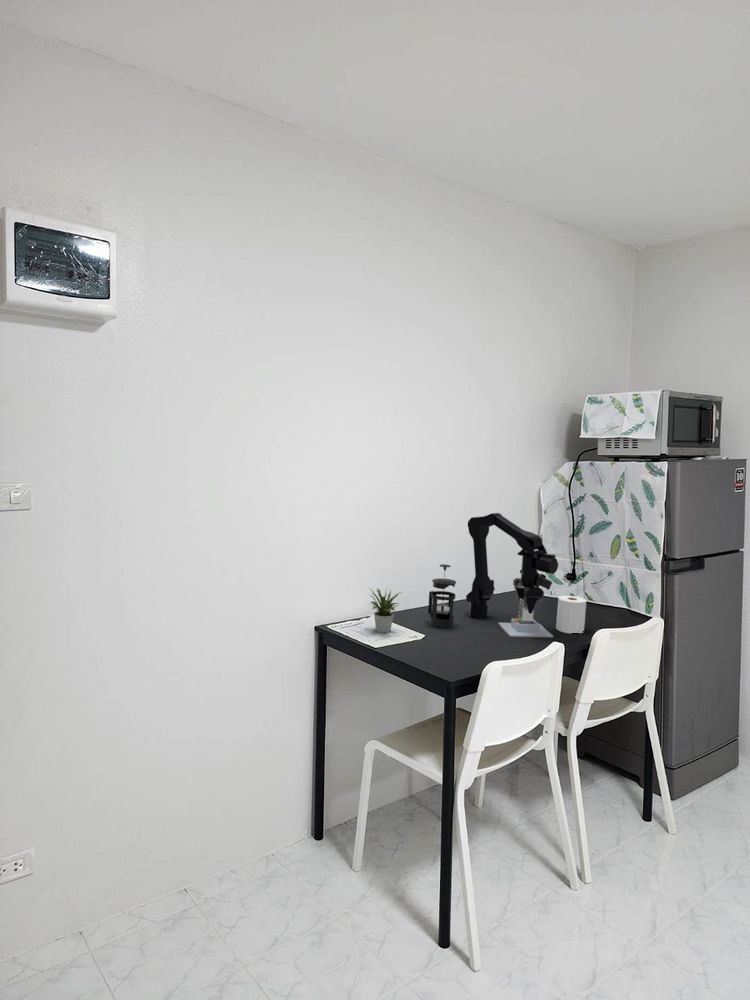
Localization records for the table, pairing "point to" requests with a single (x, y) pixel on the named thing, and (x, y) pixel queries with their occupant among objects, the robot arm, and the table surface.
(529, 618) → the column
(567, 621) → the toilet paper
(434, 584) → the french press
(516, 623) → the stand base
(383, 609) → the house plant
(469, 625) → the table surface
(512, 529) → the robot arm
